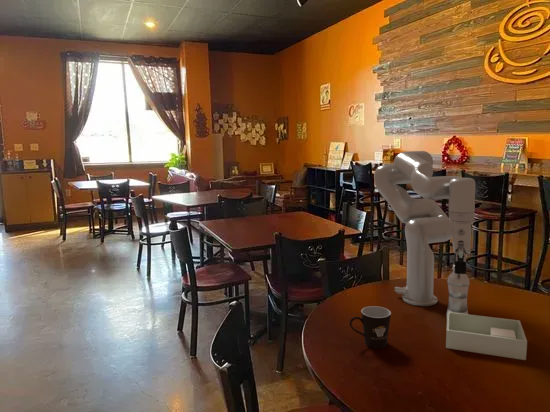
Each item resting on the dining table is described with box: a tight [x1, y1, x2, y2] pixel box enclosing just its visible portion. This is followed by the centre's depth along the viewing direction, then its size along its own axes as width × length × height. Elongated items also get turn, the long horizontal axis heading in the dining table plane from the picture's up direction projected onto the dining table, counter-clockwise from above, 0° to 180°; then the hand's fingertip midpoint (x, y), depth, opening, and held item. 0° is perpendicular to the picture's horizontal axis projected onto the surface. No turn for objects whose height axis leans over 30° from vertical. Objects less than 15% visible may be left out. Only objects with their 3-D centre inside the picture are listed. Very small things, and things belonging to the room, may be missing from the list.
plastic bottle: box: [445, 262, 470, 317], centre depth 136 cm, size 6×7×20 cm
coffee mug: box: [349, 305, 392, 349], centre depth 125 cm, size 12×9×10 cm
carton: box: [490, 327, 516, 339], centre depth 120 cm, size 6×5×4 cm
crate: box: [445, 311, 528, 361], centre depth 122 cm, size 20×14×6 cm
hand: (460, 269), depth 134 cm, fingers open, 9 cm apart
